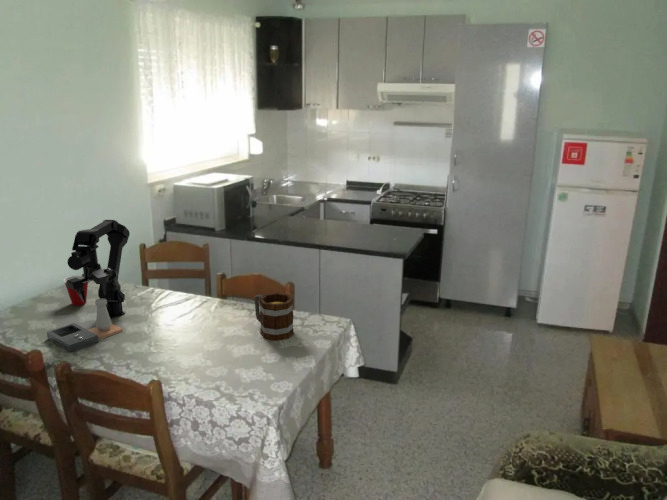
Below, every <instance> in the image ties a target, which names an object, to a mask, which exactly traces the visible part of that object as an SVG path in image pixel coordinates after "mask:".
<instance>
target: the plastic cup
mask: <svg viewBox="0 0 667 500" xmlns="http://www.w3.org/2000/svg"><path fill="white" fill-rule="evenodd" d="M73 278H78V279H83V278H84V277H82V275H70V276H67V277H65V278H63V280H62V281H63V283H64V285H65V287H66V290H67V294H68V297H69V299H70V302H71V304H72V306H75V307H77V306H78V307H79V306H83V305H85V304H86V303H87V296H88V286H89V282H87V283H83V284H84V285H83V287H84V288H85V289H84V295H85V302H83V301H82V299H81V298H80V296H79V295H78V293H77V292H76V291H75V290H73V289H71V288H69V287H67V286H66V282H67V280H69V279H73Z"/></svg>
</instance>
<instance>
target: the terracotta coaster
mask: <svg viewBox="0 0 667 500" xmlns="http://www.w3.org/2000/svg"><path fill="white" fill-rule="evenodd" d="M123 329H124V328H123V327H119V326H118V325H115V324H113V323H112V322H111V327H110V329H109V330H108V331H104V332H102V331H99V330H98V328H97V327H96V326H94V327H91V328H89V329H87V330H89V331H91V332H92V333H94V334H96V335H98V340H102V339H104V338H108V337H111V336H113V335H116V334H119V333H122V332H123Z"/></svg>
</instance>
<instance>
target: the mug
mask: <svg viewBox="0 0 667 500" xmlns="http://www.w3.org/2000/svg"><path fill="white" fill-rule="evenodd" d="M293 305H294V298H293V296H291V294H288V293H281V292H273V293H265V294H264V295H262V294H261V293H260V294H257V295H255V296H254V307H255V318H256V320H257V321H258V322H259V323H260V335H261V337H262V336H263V337H262V338H263V340H267V339H268V340H267V341H273V342H278V341H283V340H289V339H290V337H292V336H293V335H294V334H295V331H294V311H293V310H294V309H293Z"/></svg>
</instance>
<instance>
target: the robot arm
mask: <svg viewBox="0 0 667 500" xmlns="http://www.w3.org/2000/svg"><path fill="white" fill-rule="evenodd" d="M105 235H106V236H107V241H108V243H109V245H110V248H109V255H108V261H107V268H102V267H101V263H99V261H98V252H97V249H98V248H99V245H98V244H99V242H100V238H102V237H104V236H105ZM129 237H130V230H129V229H128V228H127V227H126V226H125V225H123V224H121V223H119V221H117V220H115V219H104V220H103V221H102V222H100V223H98V224H96V225H95V226H94V227H91V228H88V229H81V230H78V231H77V232H76V234H75V236H74V241H73V244H72V248H71V250H72V252H71V253H70V254H71V256H69V257H68V258H67V262H66V263H67V265H68V267H69V268H70V269H71V270H73V271H79V270H81V269H82V274H81V276H82V277H84V278H83V279H78V278H73V279H69V280H67V282H66V285H65V287H66V286H67V287H69V288H71V289H73V290H75V291H76V292H77V293H78V295H79V296H80V298H81V299H82V301H83V302H85V295H84V289H85V288H84V287H83V285H84V284H83V283H87V282H88V283H89V282H94V284H96V285H99V288H98V291H97V295H98V299H100V298H104V299H106V300H107V304H106V307H107V311H108V314H109V317H110V319H115V318H117V317H120V316H124V315H125V314H126V312H124V311H123V310H124V309H123V303H124V302H125V299H126V296H125V294H124V292H122V291H121V285H120V283H119V281H118V280H119V274H120V267H121V266H120V265H121V261H122V255H123V254H122V253H123V248H124V247H125V246H126V244H127V243H128V241H129ZM67 287H66V288H67Z"/></svg>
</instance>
